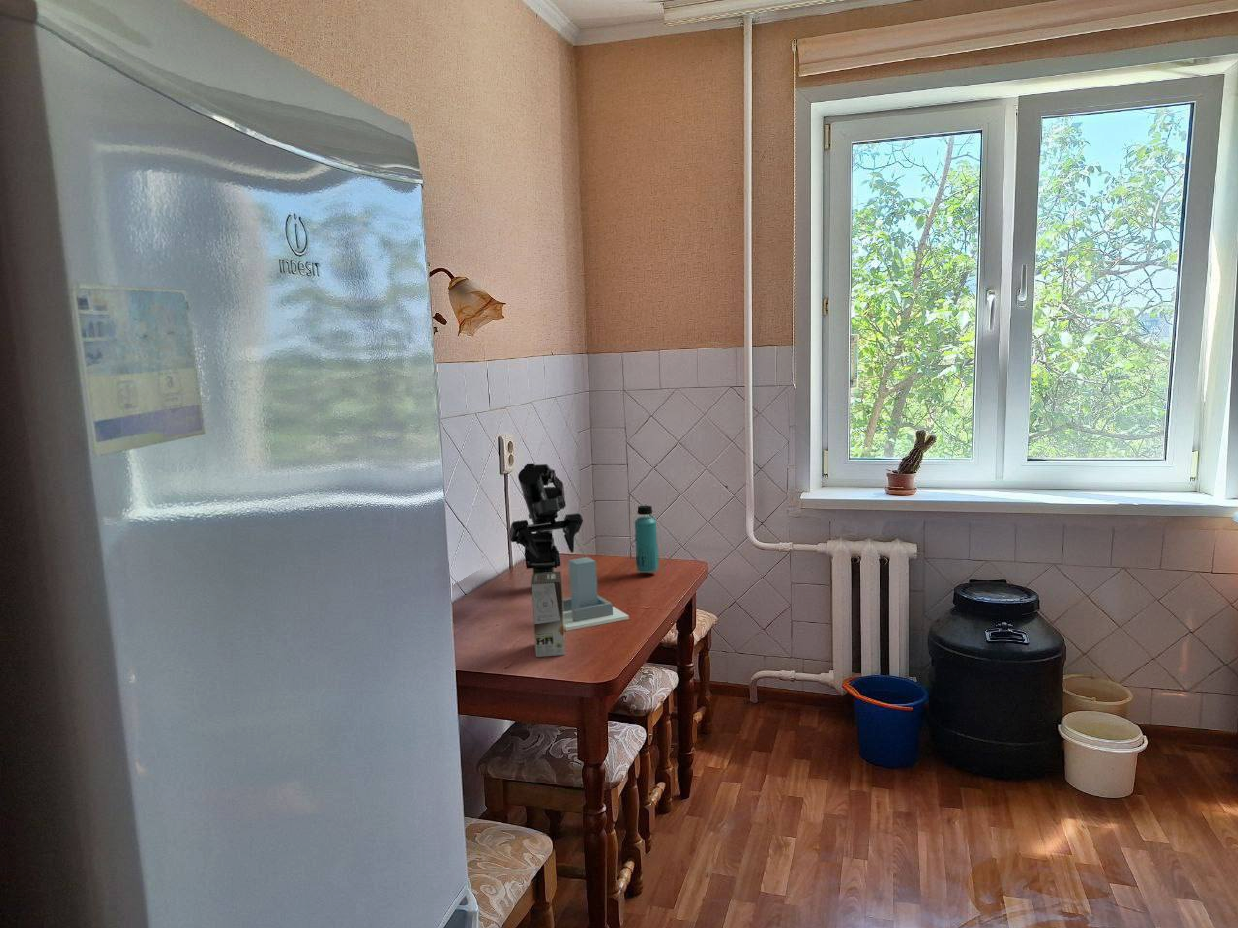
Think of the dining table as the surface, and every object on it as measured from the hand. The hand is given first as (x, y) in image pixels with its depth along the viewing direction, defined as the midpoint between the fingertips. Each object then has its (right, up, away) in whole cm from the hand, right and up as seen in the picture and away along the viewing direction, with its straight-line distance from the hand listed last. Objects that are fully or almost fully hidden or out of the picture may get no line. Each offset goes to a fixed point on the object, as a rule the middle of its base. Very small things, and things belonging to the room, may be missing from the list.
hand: (555, 554), depth 208 cm
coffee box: (+1, -18, -29) cm, 34 cm away
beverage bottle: (+24, -9, +29) cm, 39 cm away
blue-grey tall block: (+8, -13, -7) cm, 17 cm away
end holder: (+8, -14, -7) cm, 18 cm away
